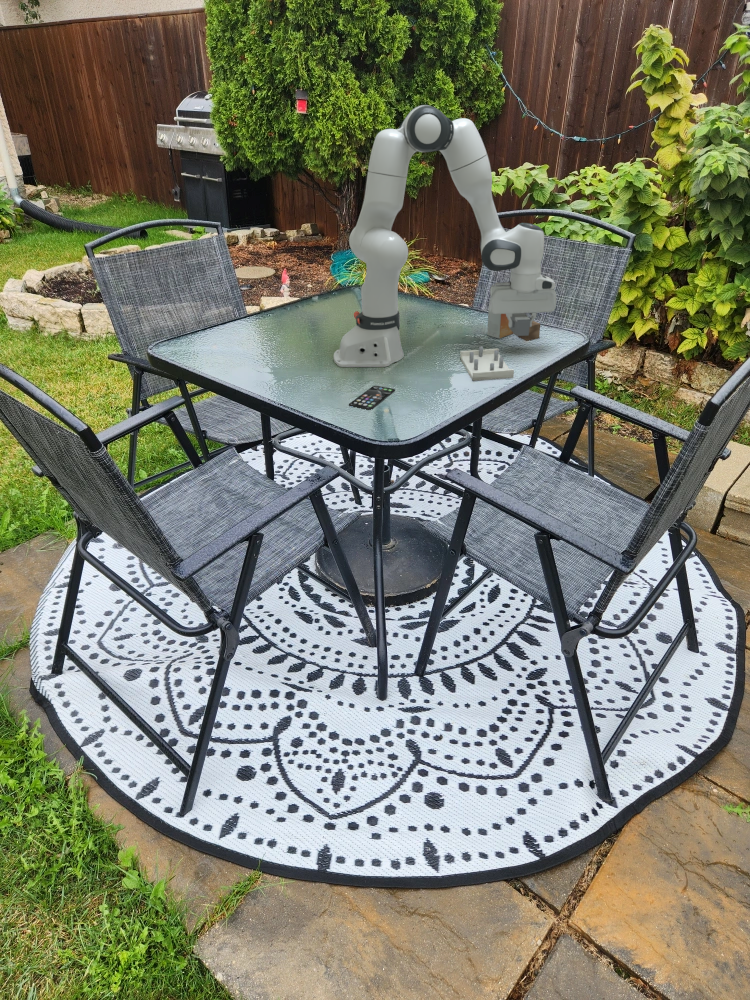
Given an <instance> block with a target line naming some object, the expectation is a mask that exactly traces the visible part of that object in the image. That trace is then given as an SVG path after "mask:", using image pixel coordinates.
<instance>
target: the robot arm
mask: <svg viewBox="0 0 750 1000" xmlns="http://www.w3.org/2000/svg"><path fill="white" fill-rule="evenodd" d="M436 151H437V152H438V151H439V152H440V153H441V155H443V158H444V159H445V162H446V165H447V169H448V171H449V174H450V177H451V179H452V181H453V183H454V186H455V187H456V189H457V191H458V193H459V195H460V196H461V197H462V198H465V200H467V202H468V203H469V204H470V206H471V208H472V211H473V213H474V216H475V219H476V223H477V225H478V229H479V231H480V242H479V243H480V244H479V245H480V246H479V249H480V253H481V254H480V255H481V261H482V264H483V266H484V267H485V268H486V269H487V270H490V271H492V272H500V271H501V272H503V271H508V270H510V279H509V281H503V282H502V281H501V282H499V281H497V282H495V283H493V284H492V285H491V286H490V289H489V296H490V298H489V302H488V303H489V304H488V310H490V312H491V313H492V314H506V316H507V318H508V320H509V328H511V327H514V324H515V322H514V320H511V318H510V317H512V314H513V313H525V314H530V317H529V318H530V327H531V326H532V321H535V319H536V317H537V315H538V314H539V313H552V312H554V311H555V310H556V309H557V307H556V306H557V292H556V290H555V288H556V282H555V280H554V279H552V278H551V277H549V276H546V275H543V274H542V266H541V263H542V260H543V257H544V250H545V249H544V248H545V233H544V230H543V229H542V228H541V227H540V226H538V225H536V224H533V223H530V222H521V223H519V224H517V225H516V226H515V227H513V228H511V229H508V231H507V230H506V229H505V227H504V226H503V225H502V222H501V221H500V217H499V215H498V212H497V209H496V205H495V202H494V198H493V194H492V193H493V191H492V188H493V178H492V177H493V176H492V175H493V174H492V168H491V163H490V158H489V155H488V153H487V150H486V147H485V144H484V142H483V138H482V137H481V135H480V133H479V130H478V129H477V127H476V125H475V123H474V122H473V121H472V120H471V119H469V118H465V117H463V118H462V117H460V118H457V119H453V120H450V118H448V117H447V116H446V114H444V113H443V111H441V110H440V109H439V108H436V107H434V106H432V105H428V104H421V105H418V106H415V107H414V108H413V109H411V110H410V111H409V113H408V114H406V117H404V119H403V120H402V122H401V124H400V125H399V126H398V128H395V129H394V128H385V129H383V130H380V131H379V132H377V134H376V136H375V138H374V141H373V145H372V148H371V152H370V156H369V160H368V161H369V162H368V167H367V170H368V171H367V176H366V183H365V192H364V199H363V203H362V206H361V210H360V213H359V216H358V219H357V222H356V225H355V226H354V227H353V229H352V231H351V232H350V234H349V236H348V237H349V238H348V239H349V240H348V243H349V247H350V249H351V252H352V253H353V254H354V256H355V257H356V258H357V259H359V260H360V261H361V262H364V263H365V265H366V271H365V272H366V273H365V279H364V282H363V284H362V285H361V287H360V294H361V295H360V296H361V297H360V298H361V312H360V311H357V310H356V311H355V312H354V313H353V318H354V319H355V325H354V327H352V328H351V329H350V330H349V331H347V332H346V333H345V334H343V336H342V337H341V340H340V345H339V348H338V349H336V350H335V351H334V353H333V361H334V364H335V363H336V364H337V366H339V368H384V367H385V368H386V367H388V366H391V364H393V363H395V362H396V363H397V362H398V361H401V360H402V359H403V358H404V356H405V353H404V350H403V346H402V343H401V336H400V329H401V328H400V327H401V316H400V315H401V314H400V310H399V306H398V305H399V304H398V303H399V300H398V298H399V297H398V296H399V295H398V293H399V291H398V289H399V288H398V287H399V280H400V276H401V271H402V268H403V267H404V265H405V264H406V262H407V260H408V258H409V248H408V245H407V243H406V241H405V240H404V238H402V236H400V235H399V234H398V233H397V232H395V231H392V228H393V224H394V223H395V219H396V217H397V215H398V214H399V212H400V211H401V210H402V209H403V206H404V201H405V200H404V199H405V198H404V197H405V192H406V186H407V177H408V173H409V166H410V165H409V164H410V161H411V159H412V157H413V156H414V154H415V153H417V152H420V153H431V152H436ZM336 364H335V365H336Z"/></svg>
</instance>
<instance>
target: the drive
mask: <svg viewBox="0 0 750 1000" xmlns="http://www.w3.org/2000/svg"><path fill="white" fill-rule="evenodd" d="M510 318H511V320H514V322H515V324H514V327H511V328H510V329H511V331H512V332H513V333H514V336H515V337H518V336H529V328H530V317H529V316H528V315H527V313H513V314H512V317H510Z"/></svg>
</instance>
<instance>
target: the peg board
mask: <svg viewBox="0 0 750 1000" xmlns="http://www.w3.org/2000/svg"><path fill="white" fill-rule="evenodd" d="M459 352H460V353H459V354H460V355H459V358H460V359H459V360H460V361H461V363H462V364H463V366H464V368H465V370H466V372H467V373H468V375H469V376H470V379H471V380H472V382H477V381H489V380H492V381H493V380H501V379H504V380H505V379H513V378H514V377H515V376H514V375H515V369H514V368H509V366H508V365H507V363H506V362H505V360H504V359H505V358H504V357H502V356H501V355H500V349H499V348H485V349H484V346H483V345H482V346H481V345H480V346H479V347H478V349H473V350H472V349H471V350H460V351H459Z"/></svg>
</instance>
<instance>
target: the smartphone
mask: <svg viewBox="0 0 750 1000" xmlns="http://www.w3.org/2000/svg"><path fill="white" fill-rule="evenodd" d="M395 391H396V389H395V388H390V387H386V386H379V385H372V386H371V387H369V389H366V391H364V392H363V393H362V394H360V395H359V396H358V397H357V396H356V398H355V399H354V400H352V401H351V402H350V403H348V406H349V407H350V406H353V407H352V408H355V407H357V408H356V409H360V408H361V410H365V409H366V410H365V411H372V410H374V409H375V408H376V407H377V406H379V404H381V403H382V402H384V401H385V400H386V399H388V397H390V396H391V395H392V394H393V393H394V392H395ZM371 409H372V410H371Z"/></svg>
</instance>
